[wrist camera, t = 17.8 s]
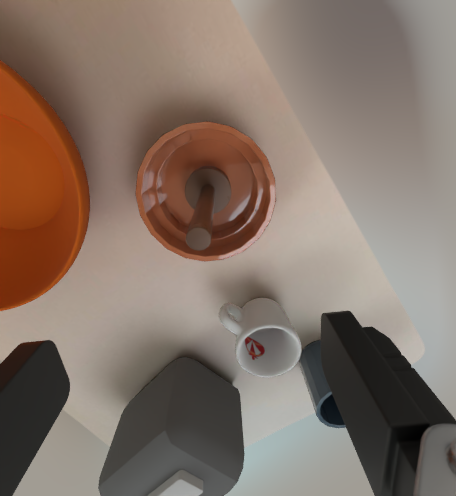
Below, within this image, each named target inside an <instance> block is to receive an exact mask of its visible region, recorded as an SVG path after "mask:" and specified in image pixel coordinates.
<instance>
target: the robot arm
mask: <svg viewBox="0 0 456 496" xmlns="http://www.w3.org/2000/svg"><path fill="white" fill-rule="evenodd" d="M321 363H322V368H323V372H324V375H325V378H326V381H327V383H328V385H329V388H330V390H331V392H332V395H333V397H334V400H335V402H336V404H337V407H338V409H339V412H340V414H341V416H342V419H343V421H344V423H345V426H346V428H347V430H348V433H349V435H350V438H351V440H352V442H353V445H354V447H355V450H356V452H357V454H358V457H359V459H360V462H361V464H362V466H363V469H364V471H365V473H366V476H367V478H368V481H369V483H370V485H371V488H372V490H373V492H374V495H375V496H456V420H455V419H454V417H453V416H452V415H451V414H450V413H449V411H448V410H447V409H446V408H445V406H444V405H443V404H442V403H441V401H440V400H439V399H438V398H437V396H436V395H435V394H434V393H433V392H432V390H431V389H430V388H429V387H428V385H427V384H426V383H425V382H424V380H423V379H422V378H421V377H420V376H419V374H418V373H417V372H416V371H415V369H414V368H411V364H410V363H409V362H408V361H407V359H406V358H405V357H404V356H403V355H401V352H400V351H399V350H398V348H397V347H396V346H395V345H394V343H393V342H392V341H391V340H390V338H388V337H387V336H385V335H384V334H382V333H381V332H379V331H378V330H376V329H375V328H373V327H363V328H362V327H361V325H360V324H359V322H358V321H357V320H356V318H355V317H354V315H353V314H352V313H351V312H350V311H341V312H331V313H323V314H322V316H321ZM69 391H70V382H69V378H68V375H67V373H66V370H65V368H64V365H63V363H62V360H61V358H60V355H59V352H58V350H57V347H56V345H55V344H54V342H52V341H50V340H46V341H36V342H26V343H21V344H20V345H18V346H17V347H16V348H15V349H14V350H13V351H12V352H11V353H10V355H9V356H8V357H7V358H6V359H5V360H4V361H3V362H2V363H1V364H0V496H12V495H13V493H14V492H15V490H16V488H17V486H18V485H19V483H20V481H21V479H22V478H23V476H24V474H25V472H26V471H27V469H28V467H29V466H30V464H31V462H32V460H33V459H34V457H35V455H36V453H37V451H38V450H39V448H40V446H41V445H42V443H43V441H44V439H45V438H46V436H47V434H48V433H49V431H50V429H51V427H52V426H53V424H54V422H55V420H56V419H57V417H58V415H59V413H60V412H61V410H62V408H63V407H64V405H65V403H66V401H67V399H68V396H69Z"/></svg>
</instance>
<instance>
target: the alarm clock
mask: <svg viewBox="0 0 456 496" xmlns="http://www.w3.org/2000/svg"><path fill="white" fill-rule="evenodd" d="M243 462H244V444H243V430H242V416H241V402H240V394H239V391H238V389H237V388H235V387H234V386H232V385H231V384H230V383H228V382H227V381H225V380H224V379H222V378H221V377H219V376H218V375H216V374H215V373H214V372H212V371H211V370H209V369H208V368H206V367H205V366H203V365H202V364H200V363H199V362H197V361H196V360H193V359H190V358H187V357H183V358H178V359H176V360H174V361H172V362H171V363H170V364H169V365H168V366H167V367H166V368H165V369H164V370H163V371H162V372H161V373H160V374H159V375H158V376H157V377H155V378H154V379H153V380H152V381H151V382H150V383H149V384H148V385H147V386H146V387H145V388H144V389H143V390H142V391H141V392H140V393H139V394H137V395H136V396H135V397H134V398H133V399H132V400H131V401H130V402H129V404H128V405H127V406H126V408H125V409H124V411H123V413H122V415H121V418H120V421H119V423H118V426H117V429H116V432H115V435H114V438H113V441H112V443H111V446H110V449H109V452H108V455H107V458H106V461H105V463H104V466H103V469H102V472H101V475H100V480H99V487H98V488H99V491H100V495H101V496H224V495H225V494H227V493H228V492H229V491H230V490H231V489H232V488H233V486H234V485H235V484H236V483H237V481H238V479H239V476H240V474H241V472H242V469H243Z"/></svg>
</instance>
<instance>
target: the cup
mask: <svg viewBox="0 0 456 496" xmlns="http://www.w3.org/2000/svg"><path fill="white" fill-rule="evenodd" d="M228 312H229V313H230V314H232V315H233V316H234V317H235V319H236V321H235V320H234V319H232V318H231V317H230V315H229V314H228ZM219 319H220V322H221V323H222V325H223V326H224V327H225V328H226V329H228V330H229V331H230V332H232V333H234V334H235V335H236V347H235V354H236V358H237V361H238V363H239V364H240V366H241V367H242V368H243V369H244V370H245V371H247V372H248V373H250V374H252V375H255V376H258V377H275V376H279V375H282V374H284V373H286V372H288V371H289V370H290V369H292V368H293V367H294V366H295V365H296V363H297V362H298V360H299V358H300V356H301V351H302V346H301V341H300V339H299V337H298V335H297V333H296V331H295V329H294V327H293V326H292V324H291V322H290V320H289V318H288V317H287V315H286V313H285V311H284V310H283V308H282V307H281V306H280V305H279V304H278V303H277V302H275V301H273V300H271V299H268V298H256V299H253V300H251V301H249V302H247V303H246V304H245V305H244V306H243V307H242V308H240V307H238V306H236V305H234V304H232V303H226V304H224V305H223V306H222V307H221V309H220V312H219Z"/></svg>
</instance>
